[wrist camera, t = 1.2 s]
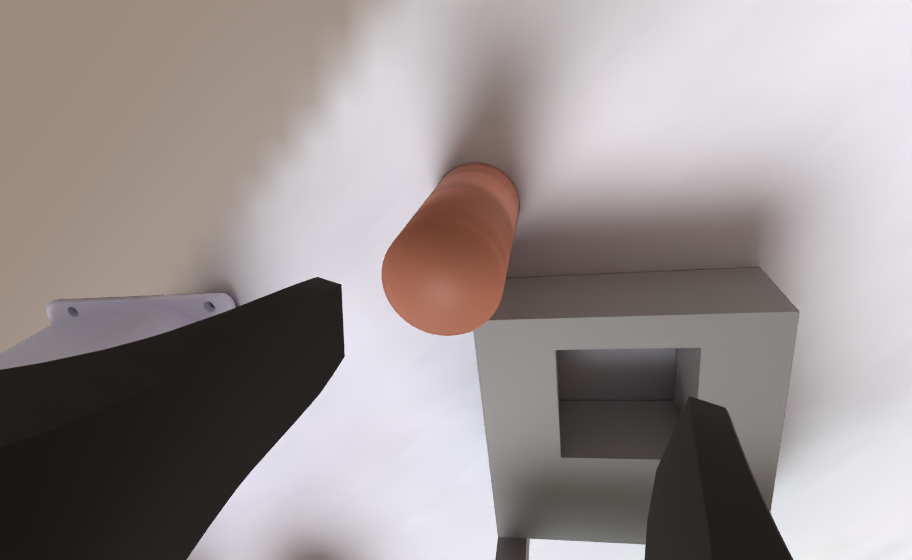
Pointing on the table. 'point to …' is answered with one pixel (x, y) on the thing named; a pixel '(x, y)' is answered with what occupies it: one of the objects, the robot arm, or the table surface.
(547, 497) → the socket block
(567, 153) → the table surface
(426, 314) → the peg
